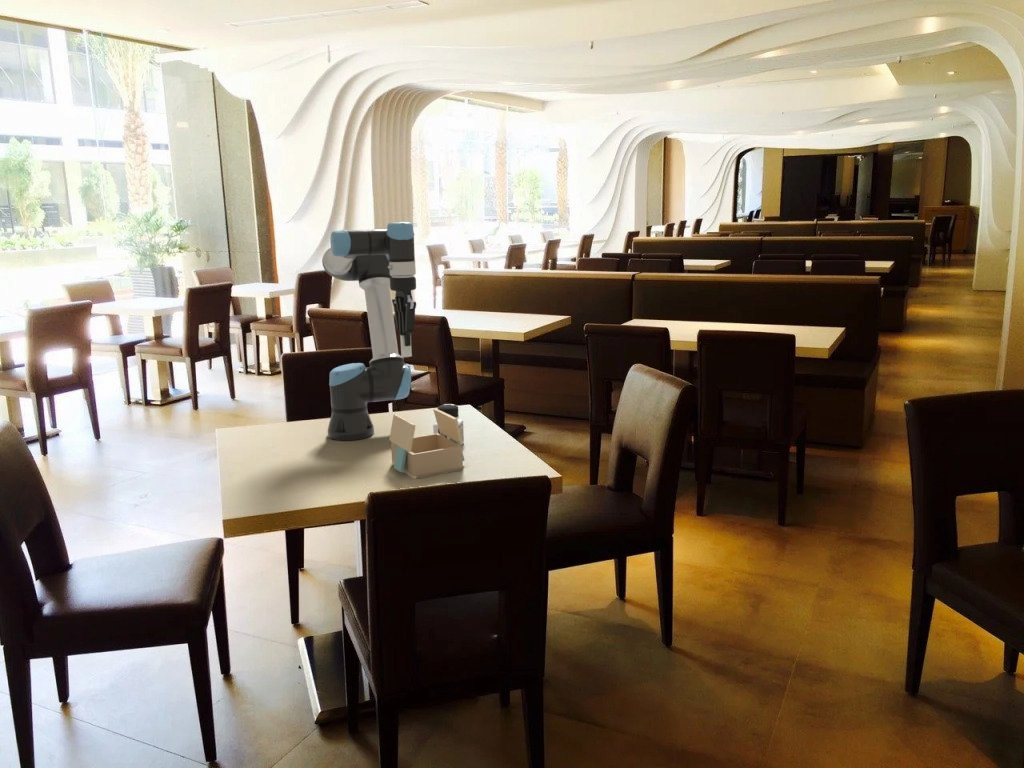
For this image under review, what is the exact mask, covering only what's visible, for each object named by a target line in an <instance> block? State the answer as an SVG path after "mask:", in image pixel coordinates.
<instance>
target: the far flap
mask: <svg viewBox="0 0 1024 768" xmlns="http://www.w3.org/2000/svg"><path fill="white" fill-rule="evenodd" d="M432 410H433V413H434V417H435V421H436V422H437V424H438V428H439V431H440V433H442V434H444V435H446V436H448V437H449V438H450V440H451V441H453V442H455V443H457V444H459V445H460V443H463V440H462V436H461V433H460V429H459V425H458V422H457V418H455V417H453V416H451V415H449V414H447V413H445V412H442V411H440V410H438V409H437V408H433V409H432ZM463 444H464V443H463ZM462 457H463V462H464V461H465V457H464V454H463V451H462Z"/></svg>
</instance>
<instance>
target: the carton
mask: <svg viewBox="0 0 1024 768" xmlns="http://www.w3.org/2000/svg"><path fill="white" fill-rule="evenodd" d="M397 447H398V445H396V444H395V443H393V442H392V441H390V448H391V451H390V453H391V464H392V465H393V466H394V464H395V458H396V452H397ZM462 452H463V446H462V445H459V444H457V443H455V442H453V441H451V440H450V439H448V438H446V437H444V436H442V435H440V434H438V433H436V434H434V433H431V434H425V435H419V436H414V437H413V443H412V448H411V452H408V451H407V453H406V459H405V464H404V470H403V472H402V473H404V474H406V475H407V476H409V477H410V478H412V479H413V480H417V479H422V478H428V477H433V476H438V475H442V474H449V473H453V472H458V471H463V470H464V461H463V457H462Z"/></svg>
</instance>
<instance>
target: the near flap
mask: <svg viewBox="0 0 1024 768" xmlns="http://www.w3.org/2000/svg"><path fill="white" fill-rule="evenodd" d="M415 430H416V424H414V423H413V422H411V421H409V420H407V419H405V418H403V417H401V416H400V415H398V414H395V413H394V414H393V416H392V422H391V427H390V434H389V438H388V439H389V441H390V442H391V441H392V442H393V443H395V444H396V445H398V447H397V452H396V458H395V464H394V465H393V468H394V469H395V470H397V471H398V472H399V473H404V472H403V470H404V464H405V459H406V453H407V451H408V452H411V448H412V443H413V437H415Z"/></svg>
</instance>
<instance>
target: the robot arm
mask: <svg viewBox="0 0 1024 768" xmlns="http://www.w3.org/2000/svg"><path fill="white" fill-rule="evenodd" d="M329 239H330V241H329V242H330V247H329V248H328V249H327V250H326V251H325V252H324V253H323V256H322V260H321V262H322V266H323V270H324V271H325V272H326V273H327V275H329V276H331V277H332V278H334V279H337V280H340V281H347V282H358V286H359V288H360V289H362V290H363V292H364V297H365V305H366V312H367V313H366V314H367V319H368V328H369V337H370V344H371V352H372V359H370V360H369V363H368V364H369V367H366V365H365V364H364V363H362V362H356V363H355V362H352V363H347V364H343V365H339V366H337V367H334V368H333V369H332V370H331V371H330V372H329V383H328V385H329V392H330V405H331V416H330V420H329V424H328V426H327V427H328V428H327V437H328V439H331V440H336V441H355V440H361V439H362V440H363V439H366V438H369V437H372V436H373V435H374V434H375V426H374V424H373V421H372V419H371V416H370V414H369V412H368V403H374V402H375V403H376V402H386V401H387V402H388V401H396V400H402V399H405V398H407V397H408V396H409V394H410V391H411V385H412V371H411V365H410V364H409V363H405V359H404V358H410V357H413V353H412V334H414V333H415V323H416V322H415V319H416V318H415V317H416V307H417V302H416V301H414V300H413V299H414V298H413V295H412V291H415V290H416V288H417V278H416V276H415V275H416V274H417V271H416V270H417V269H416V258H415V256H416V255H415V232H414V225H413V223H412V222H411V221H410V222H408V221H401V222H400V221H399V222H388V224H387V226H386V228H377V229H375V228H374V229H339V230H333V231H332V232H330V238H329ZM391 291H395V296H394V297H395V298H392V297H391V296H392V295H391ZM393 309H394V310H393ZM393 311H394V312H393ZM394 318H395V319H394ZM396 331H397V332H398V333H399V336H400V354H399V348H398V347H399V346H398V340H397V334H396Z"/></svg>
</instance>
